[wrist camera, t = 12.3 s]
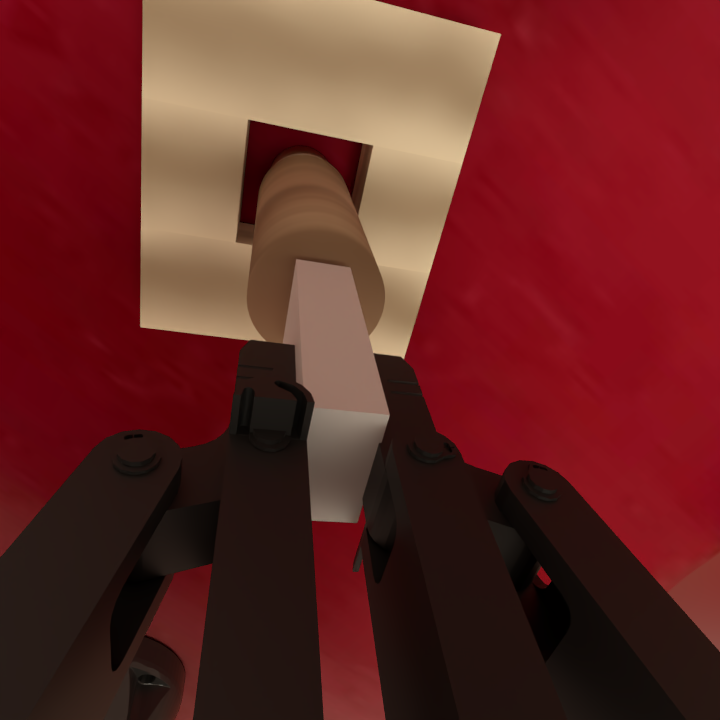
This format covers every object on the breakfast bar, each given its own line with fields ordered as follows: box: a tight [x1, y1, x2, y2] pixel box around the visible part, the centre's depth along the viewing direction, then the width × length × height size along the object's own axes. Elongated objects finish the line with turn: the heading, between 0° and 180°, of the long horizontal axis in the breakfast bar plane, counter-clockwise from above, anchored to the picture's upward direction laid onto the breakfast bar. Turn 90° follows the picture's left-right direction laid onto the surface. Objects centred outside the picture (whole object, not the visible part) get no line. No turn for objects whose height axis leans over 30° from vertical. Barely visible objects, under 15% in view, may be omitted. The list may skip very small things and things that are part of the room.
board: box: [140, 0, 501, 359], centre depth 26 cm, size 16×14×3 cm
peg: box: [247, 146, 385, 343], centre depth 22 cm, size 4×4×14 cm
